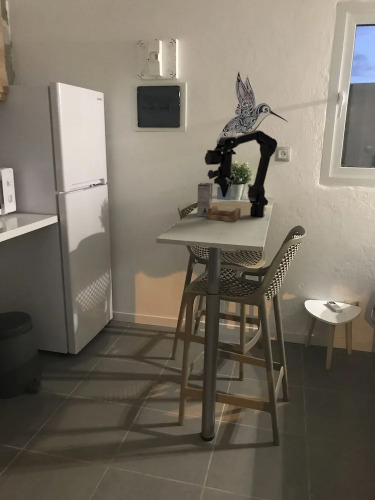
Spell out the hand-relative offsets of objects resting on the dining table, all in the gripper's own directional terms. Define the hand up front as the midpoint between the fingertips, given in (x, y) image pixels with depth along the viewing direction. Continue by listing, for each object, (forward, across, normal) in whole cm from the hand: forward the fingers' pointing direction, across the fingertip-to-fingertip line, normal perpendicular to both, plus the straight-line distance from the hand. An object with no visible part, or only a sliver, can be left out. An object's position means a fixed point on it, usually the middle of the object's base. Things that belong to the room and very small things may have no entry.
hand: (224, 196), depth 195 cm
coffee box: (+11, -6, -12) cm, 17 cm away
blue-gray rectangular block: (+1, 0, 0) cm, 1 cm away
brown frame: (+11, -1, 0) cm, 11 cm away
